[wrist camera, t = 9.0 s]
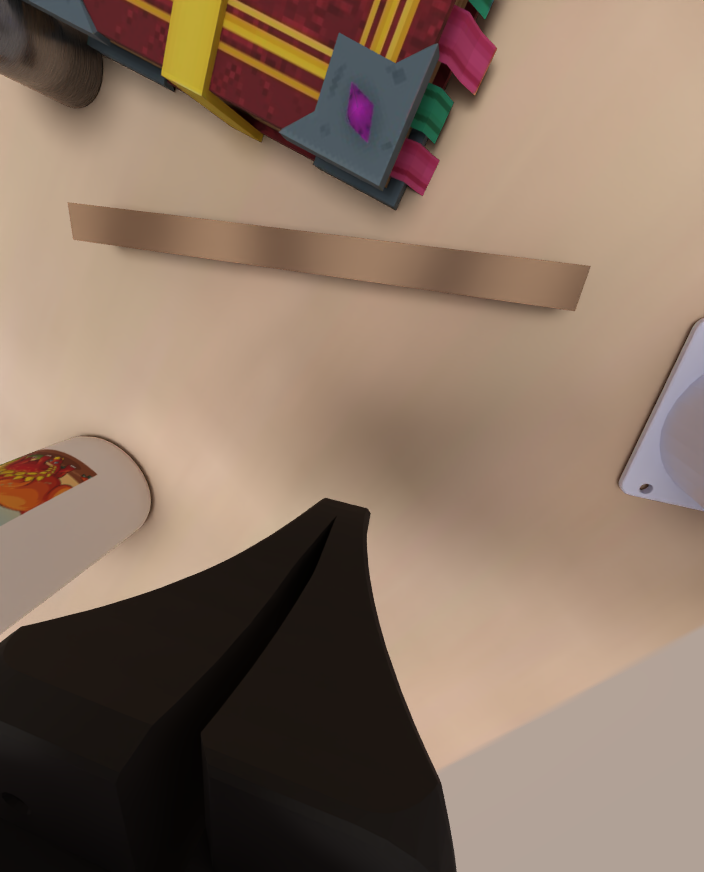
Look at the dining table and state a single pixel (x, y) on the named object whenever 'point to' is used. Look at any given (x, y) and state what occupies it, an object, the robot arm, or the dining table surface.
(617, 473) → the dining table surface
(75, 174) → the dining table surface
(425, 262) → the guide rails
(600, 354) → the dining table surface
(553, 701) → the dining table surface
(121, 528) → the milk bottle
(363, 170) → the decorative book
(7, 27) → the boss posts
